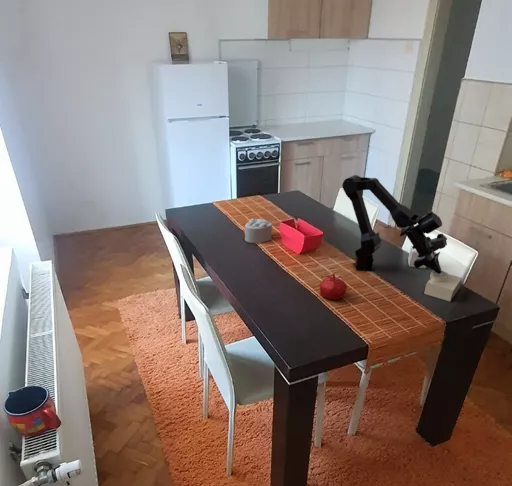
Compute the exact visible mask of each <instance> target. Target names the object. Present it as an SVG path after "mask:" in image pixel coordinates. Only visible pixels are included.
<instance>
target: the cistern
mask: <svg viewBox="0 0 512 486" xmlns="http://www.w3.org/2000/svg"><path fill="white" fill-rule="evenodd" d="M441 271H442V273H444V274H445V276H438V275H436V274H435V271H433V270H432V271H431V272H430V274H429V279H428V281H427V282H426V284H425V288H424V295H427V296H430V297H434V298H437V299H439V300H443V301H446V302H451V301H452V300H453V298H454V297H455V295H457V292H458V291H459V290H460V286H461V283H462V280H463V277H461V276H457V275H453V274H450V273H448V272H446V271H444V270H441Z"/></svg>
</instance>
